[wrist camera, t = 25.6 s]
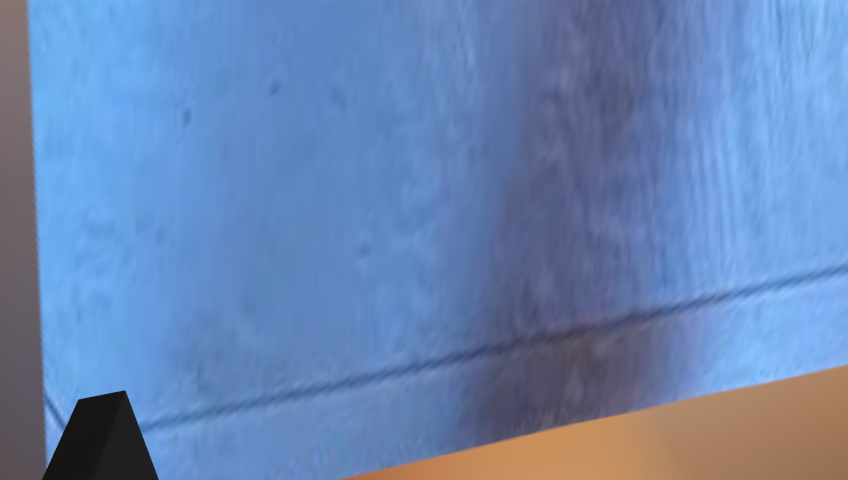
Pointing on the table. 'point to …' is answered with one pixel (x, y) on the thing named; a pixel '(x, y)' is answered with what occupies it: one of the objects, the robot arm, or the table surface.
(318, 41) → the table surface
